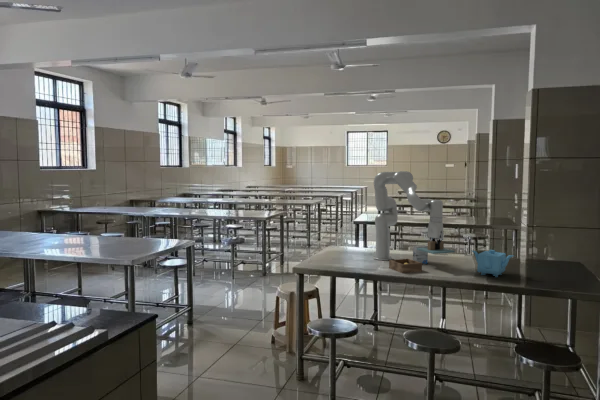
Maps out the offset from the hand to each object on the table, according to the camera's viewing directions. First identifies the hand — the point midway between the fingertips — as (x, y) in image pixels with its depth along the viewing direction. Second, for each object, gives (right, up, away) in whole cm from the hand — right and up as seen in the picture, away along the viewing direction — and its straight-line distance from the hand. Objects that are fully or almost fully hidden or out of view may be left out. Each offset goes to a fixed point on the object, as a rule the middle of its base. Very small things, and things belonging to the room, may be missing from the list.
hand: (435, 248), depth 288 cm
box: (-21, -13, -7) cm, 25 cm away
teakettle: (+29, -14, -14) cm, 35 cm away
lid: (0, -1, 0) cm, 1 cm away
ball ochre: (-19, -12, -4) cm, 23 cm away
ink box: (-5, -12, +16) cm, 21 cm away
